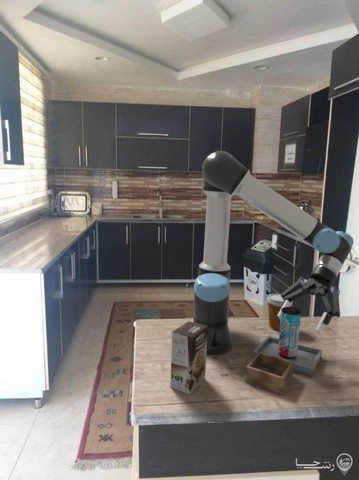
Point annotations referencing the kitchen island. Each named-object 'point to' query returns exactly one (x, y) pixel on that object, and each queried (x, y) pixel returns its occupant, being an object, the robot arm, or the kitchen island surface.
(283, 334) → the beverage can
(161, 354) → the kitchen island surface
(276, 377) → the walnut holder
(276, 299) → the disposable coffee cup
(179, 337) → the coffee box
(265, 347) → the grey tray
